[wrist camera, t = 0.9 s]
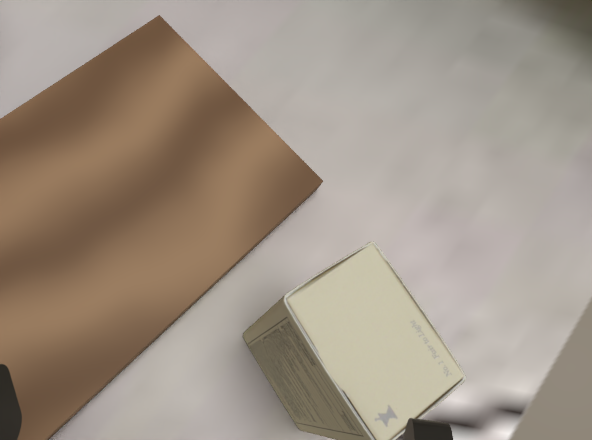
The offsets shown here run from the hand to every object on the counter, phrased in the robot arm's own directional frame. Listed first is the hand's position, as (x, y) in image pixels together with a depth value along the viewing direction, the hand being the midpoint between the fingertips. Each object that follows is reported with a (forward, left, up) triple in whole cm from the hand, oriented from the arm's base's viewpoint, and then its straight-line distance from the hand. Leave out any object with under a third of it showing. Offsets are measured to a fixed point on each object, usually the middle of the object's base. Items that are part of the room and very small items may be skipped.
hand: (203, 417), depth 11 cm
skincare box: (+3, +6, -19) cm, 20 cm away
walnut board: (-10, +3, -19) cm, 22 cm away
